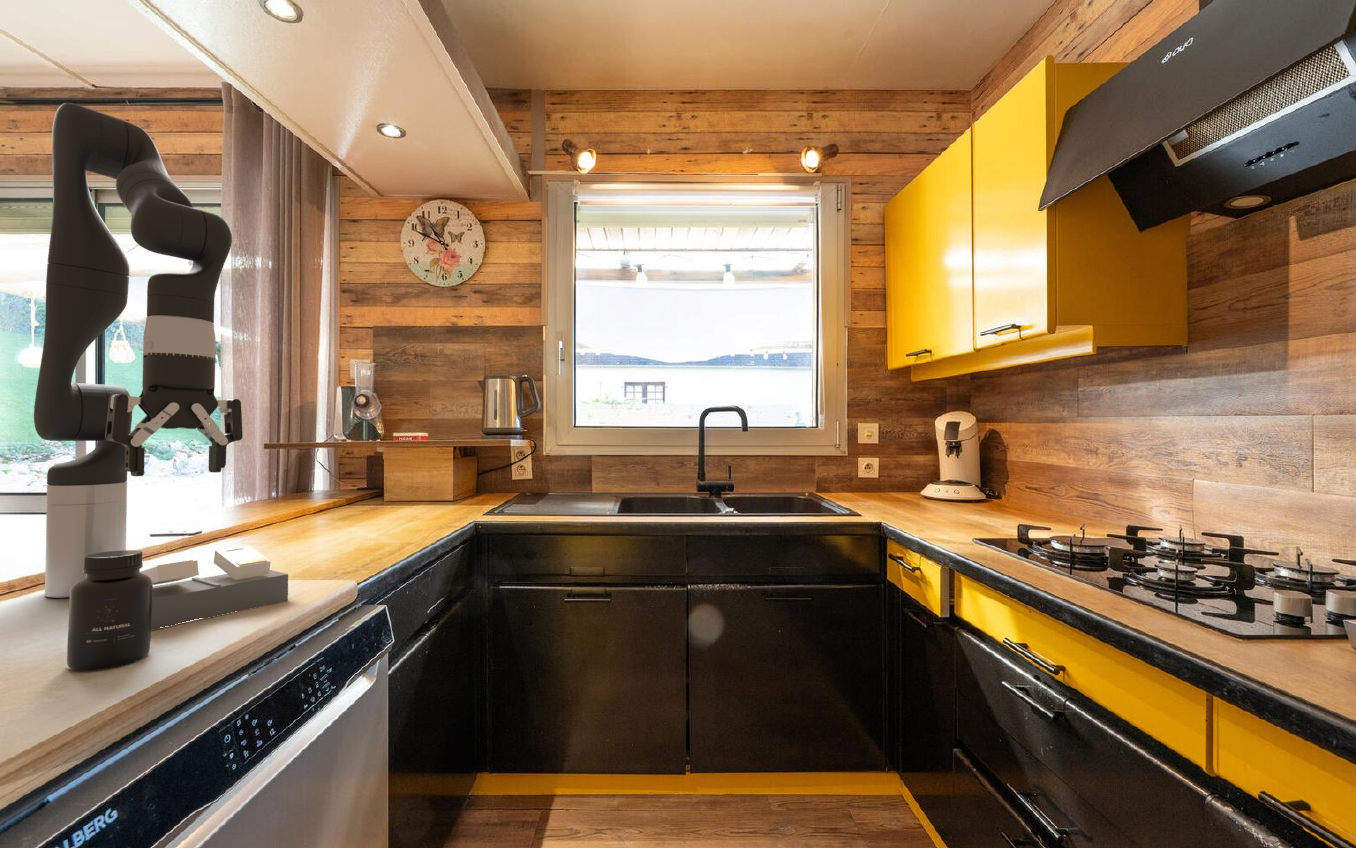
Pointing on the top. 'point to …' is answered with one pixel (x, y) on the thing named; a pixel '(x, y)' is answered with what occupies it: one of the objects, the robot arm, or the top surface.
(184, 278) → the robot arm
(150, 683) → the top surface
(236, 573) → the rocker
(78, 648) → the supplement bottle
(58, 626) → the top surface
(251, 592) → the switch panel
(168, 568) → the block
